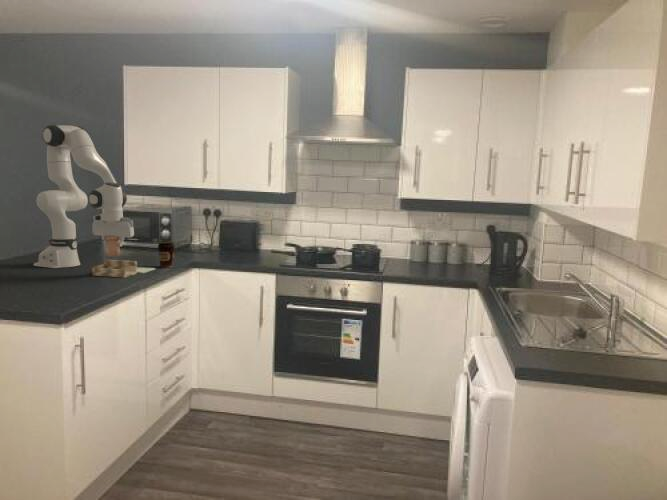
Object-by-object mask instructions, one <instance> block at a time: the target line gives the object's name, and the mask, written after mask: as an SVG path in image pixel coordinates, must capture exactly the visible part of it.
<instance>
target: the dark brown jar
mask: <svg viewBox="0 0 667 500" xmlns="http://www.w3.org/2000/svg"><path fill="white" fill-rule="evenodd" d="M175 247H176V245H175V244H174V242H173V241H161V242H160V241H159V243H158V245H157V248H158V260H159V267H160V268H173V267H174V265H173V260H174V258H175V257H174V256H175V252H174V251H175Z"/></svg>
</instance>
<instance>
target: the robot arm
mask: <svg viewBox="0 0 667 500" xmlns="http://www.w3.org/2000/svg"><path fill="white" fill-rule="evenodd" d="M42 139H43V141H44V143H45V144H46V145H47V149H46V165H47V175H48V178H49V180H50V181H51V182H53V183H55V184H56V185H57V186H58V188H59V189H54V190H53V189H49V190H44V191H40V192H39V193H38V195H37V197H36V200H35V202H36V205H37V207H38V208H39V210H40V211H42V212H43V213H44V214H45V215H46V216H47V217H48V219H49V222H50V226H51V232H52V233H51V234H52V236H51V237H52V238H51V239H48V240H47V242H48V243H49V246H47V247H46V248H45V249H44V250H42V251H41V252H40V253H39V255H38V261H37V262H34V263H33V266H34V267H41V268H50V269H59V268H71V267H77V266H80V265H81V262H80V258H79V254H78V239H77V229H76V225H77V224H76V223H75V222H74V221H73V220H72V219H70V218H68V217H67V214H66V212H77V211H81V210H84V209H85V208H86V207H87V205H88V204H89V205H90V207H91V208H93V209H97V210H102V213H100V214H96V215H94V216H93V222H92V231H91V232H92V234H93V236H100V237H102V240H103V242H104V246H108V245H107V239H106V236H113V237H119V243H118V246H120V247H123V243H124V241H125V238H127V239H129V238H133V237H134V236H135V230H134V229H135V227H134V221H133V219H131V218H130V217H124V209H123V207H124V206H125V205H126V203H127V201H128V198H127V197H128V196H127V194H126V192H125V190H124V189H123V188H122V186H121V185H120V184H119V182H118V179H117V178H116V176H115V175H114V173H113V171H112V169H111V167H110V166H109V164H108V163H107V161H106V160H104V159H103V158H102V157H101V156H100V155H99V152H98V151H97V150H96V147H95V144H94V143H93V140H92V138H91V137H90V135H89V132H88V130H87V129H86V128H84V127H81V126H75V125H70V124H68V125H67V124H65V125H63V124H62V125H61V124H60V125H59V124H50V125H49V124H48V125H46V126H45V128H44V129H43V130H42ZM71 156H72V158H73V161H74V162H75V164H76V165H77V166H78V167H79V168H81V169H83V170H86V171H90V172H92V173H95V174H96V175H98V176H100V178H101V179H102V181H103V185H102V186H100V187H98V188H94V189H92V190H91V191H90V192H89V194H88V195H87V194H86V193H85V192H84V191H83V190H82V189H81V188H79V185H77V183H76V180H75V179H74V175H73V169H72V161H71Z"/></svg>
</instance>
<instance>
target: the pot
mask: <svg viewBox="0 0 667 500" xmlns="http://www.w3.org/2000/svg"><path fill="white" fill-rule="evenodd" d="M106 239H107V245H106V246H107V257H120V256H121V255H120V253H121V251H120V249H121V248H120V247H121V246H118V243H119V242H120V239H119V237H113V236H106Z"/></svg>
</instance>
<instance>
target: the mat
mask: <svg viewBox="0 0 667 500" xmlns="http://www.w3.org/2000/svg"><path fill="white" fill-rule="evenodd" d="M154 270H156V267H141V266H140V267H139V266H137V274H145V273H148V272H151V271H154Z"/></svg>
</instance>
